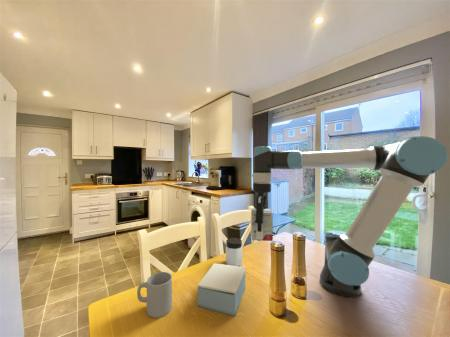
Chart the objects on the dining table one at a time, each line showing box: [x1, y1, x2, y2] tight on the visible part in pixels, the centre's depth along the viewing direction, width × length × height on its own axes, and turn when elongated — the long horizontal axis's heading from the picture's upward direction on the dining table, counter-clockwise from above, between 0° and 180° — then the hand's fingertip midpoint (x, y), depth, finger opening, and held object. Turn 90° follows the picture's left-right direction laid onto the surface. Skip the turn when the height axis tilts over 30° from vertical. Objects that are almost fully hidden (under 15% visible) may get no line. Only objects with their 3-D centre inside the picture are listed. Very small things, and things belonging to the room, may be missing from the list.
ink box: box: [250, 207, 274, 242], centre depth 83 cm, size 9×9×12 cm
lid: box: [197, 263, 247, 294], centre depth 75 cm, size 14×16×1 cm
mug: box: [136, 271, 173, 319], centre depth 68 cm, size 12×8×11 cm
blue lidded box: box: [197, 272, 246, 317], centre depth 75 cm, size 14×16×7 cm
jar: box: [225, 237, 243, 267], centre depth 101 cm, size 9×8×12 cm
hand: (261, 234), depth 83 cm, fingers closed on ink box, 9 cm apart
